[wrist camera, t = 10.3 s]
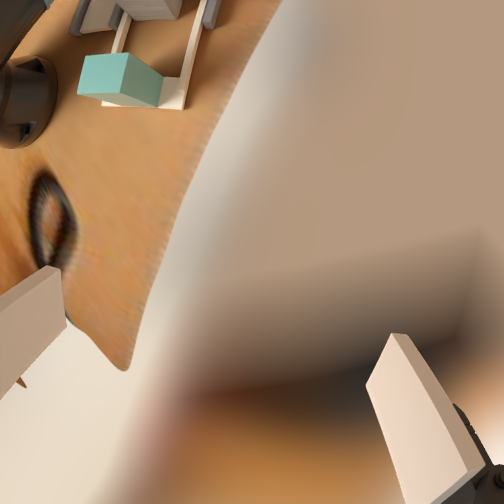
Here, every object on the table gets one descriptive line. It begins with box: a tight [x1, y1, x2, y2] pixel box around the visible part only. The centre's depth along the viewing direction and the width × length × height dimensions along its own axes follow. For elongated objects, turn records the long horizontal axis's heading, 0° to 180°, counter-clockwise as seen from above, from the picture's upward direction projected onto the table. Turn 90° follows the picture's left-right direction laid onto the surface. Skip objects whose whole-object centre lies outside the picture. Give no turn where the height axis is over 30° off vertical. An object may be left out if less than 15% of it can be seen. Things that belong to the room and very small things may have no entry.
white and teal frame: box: [77, 0, 209, 110], centre depth 23 cm, size 11×22×11 cm, turn 170°
